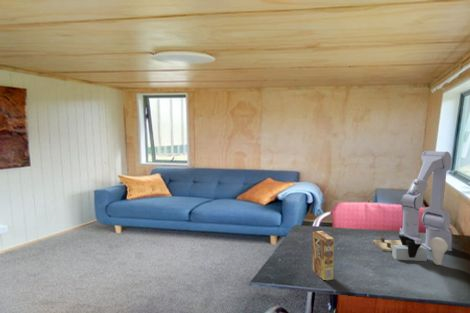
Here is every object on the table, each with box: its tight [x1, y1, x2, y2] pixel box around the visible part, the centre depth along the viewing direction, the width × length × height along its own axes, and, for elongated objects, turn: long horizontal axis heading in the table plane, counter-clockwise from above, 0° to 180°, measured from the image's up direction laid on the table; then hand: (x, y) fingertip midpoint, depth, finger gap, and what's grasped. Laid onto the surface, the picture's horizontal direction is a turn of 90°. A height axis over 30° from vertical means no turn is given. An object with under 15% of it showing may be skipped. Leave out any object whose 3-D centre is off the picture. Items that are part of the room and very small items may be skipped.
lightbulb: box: [429, 237, 448, 266], centre depth 123 cm, size 6×6×11 cm
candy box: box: [312, 230, 335, 281], centre depth 115 cm, size 9×4×15 cm, turn 13°
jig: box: [372, 237, 402, 253], centre depth 143 cm, size 16×12×3 cm
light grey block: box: [391, 245, 428, 262], centre depth 130 cm, size 12×4×5 cm, turn 84°
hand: (409, 254), depth 130 cm, fingers open, 4 cm apart
